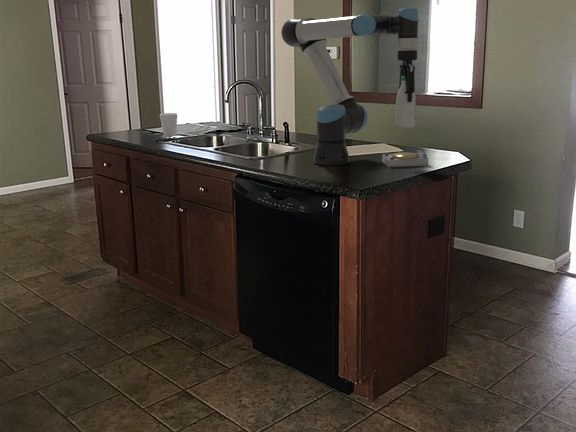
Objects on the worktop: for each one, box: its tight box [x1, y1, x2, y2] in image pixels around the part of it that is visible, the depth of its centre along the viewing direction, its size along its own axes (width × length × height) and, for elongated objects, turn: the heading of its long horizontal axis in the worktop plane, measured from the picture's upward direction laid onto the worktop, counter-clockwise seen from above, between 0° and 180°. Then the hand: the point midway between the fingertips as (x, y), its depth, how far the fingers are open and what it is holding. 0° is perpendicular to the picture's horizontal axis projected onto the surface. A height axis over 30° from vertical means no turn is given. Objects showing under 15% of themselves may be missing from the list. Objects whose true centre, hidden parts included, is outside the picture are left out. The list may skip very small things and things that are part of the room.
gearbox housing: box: [382, 149, 429, 168], centre depth 248 cm, size 16×12×4 cm
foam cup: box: [159, 112, 178, 138], centre depth 334 cm, size 10×9×13 cm
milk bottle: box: [394, 76, 417, 129], centre depth 241 cm, size 8×8×20 cm
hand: (406, 109), depth 242 cm, fingers closed on milk bottle, 7 cm apart
